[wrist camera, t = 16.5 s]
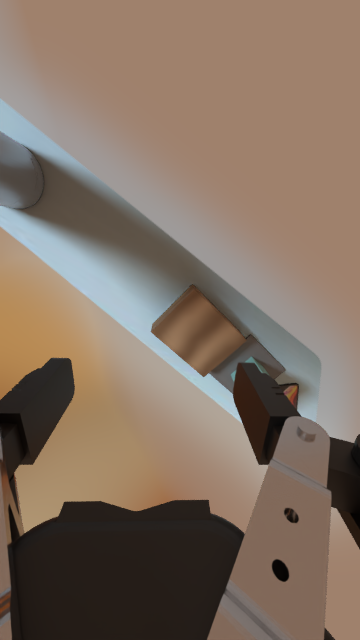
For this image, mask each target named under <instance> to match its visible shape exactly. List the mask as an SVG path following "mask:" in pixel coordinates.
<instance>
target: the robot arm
mask: <svg viewBox="0 0 360 640" xmlns="http://www.w3.org/2000/svg"><path fill="white" fill-rule="evenodd" d="M43 185H44V182H43V174H42V170H41V168H40V165H39V163H38V161H37V160H36V158H35V157H34V155H33V154H32V153H31V152H30V151H29V150H28V149H27V148H25V147H24V146H23V145H21V144H20V143H18V142H17V141H15V140H13V139H12V138H10V137H8V136H7V135H5V134H4V133H2V132H1V131H0V206H5V207H11V208H18V209H22V208H28V207H30V206H32V205H33V204H35V203H36V202H37V201H38V199H39V198H40V196H41V194H42V191H43ZM74 387H75V386H74V378H73V371H72V363H71V360H70V359H69V358H51V359H50V360H49V361H48V362H47V363H46V364H45V365H44V366H43V367H42V368H38V369H36V370H34V371H32V372H31V373H29V374H28V375H26V376H25V377H24V378H23V379H22V380H21V381H20V382H19V384H17V385H16V386H14V388H12V391H9V392H8V393H7V394H6V395H5V396H4V397H3V398H2V399H1V400H0V640H335V639H334V638H333V637H332V635H331V634H330V633H329V632H328V631H327V630H326V629H325V609H326V590H327V572H328V553H329V535H330V534H329V533H330V516H331V507H334V508H337V510H338V511H339V513H340V515H341V517H342V519H343V520H344V522H345V524H346V525H347V527H348V529H349V531H350V533H351V534H352V536H353V538H354V540H355V542H356V544H357V545H358V547H359V549H360V434H359V435H358V436H357V438H356V440H355V443H351V442H347V441H343V440H339V439H336V438H331V437H329V436H328V434H327V433H326V431H325V430H324V429H323V428H322V427H321V426H320V425H318V424H317V423H315V422H314V421H312V420H310V419H307V418H304V417H301V415H300V414H299V413H298V411H297V410H296V408H295V407H294V406H293V404H292V403H291V402H290V400H289V399H288V397H287V396H286V395H285V393H284V392H283V391H282V389H280V387H279V385H278V384H277V382H276V381H275V380H274V379H273V378H272V377H270V376H269V375H267V374H266V373H261V371H260V370H259V368H258V367H257V365H256V364H255V363H247V362H239V363H238V364H237V368H236V374H235V381H234V387H233V398H234V402H235V405H236V407H237V410H238V413H239V415H240V418H241V420H242V423H243V425H244V428H245V431H246V433H247V436H248V438H249V441H250V443H251V446H252V449H253V451H254V453H255V456H256V459H257V461H258V464H259V465H269V466H268V469H267V472H266V475H265V478H264V481H263V484H262V487H261V490H260V492H259V495H258V498H257V501H256V504H255V507H254V509H253V513H252V516H251V518H250V521H249V524H248V527H247V530H246V533H245V534H244V533H243V532H242V531H241V530H240V529H239V528H237V527H236V526H235V525H234V524H232V523H231V522H229V521H227V520H226V519H224V518H222V517H219V516H217V515H214V514H211V513H210V507H209V500H175V501H170V502H167V503H164V504H161V505H158V506H154V507H151V508H148V509H144V510H142V511H131V510H128V509H125V508H121V507H118V506H115V505H111V504H108V503H105V502H101V501H91V502H90V501H86V502H64V504H63V507H62V509H61V512H60V514H59V516H58V517H55V518H52V519H50V520H48V521H45V522H43V523H41V524H39V525H37V526H35V527H34V528H32V529H31V530H29V531H28V532H26V533H24V529H23V523H22V517H21V510H20V503H19V497H18V491H17V483H16V477H15V474H14V472H15V470H16V469H17V468H18V466H19V465H22V464H23V465H29V464H30V465H33V463H34V462H35V460H36V458H37V457H38V455H39V453H40V452H41V450H42V449H43V447H44V445H45V444H46V442H47V440H48V439H49V437H50V435H51V433H52V432H53V430H54V429H55V427H56V425H57V423H58V422H59V420H60V419H61V417H62V415H63V413H64V412H65V410H66V409H67V407H68V405H69V403H70V402H71V400H72V398H73V395H74V389H75V388H74Z"/></svg>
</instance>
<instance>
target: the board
mask: <svg viewBox="0 0 360 640" xmlns="http://www.w3.org/2000/svg"><path fill="white" fill-rule="evenodd" d="M151 332H152V333H153V334H154V335H155V336H156V337H157V338H159V339H160V340H161V341H162V342H163V343H164V344H166V345H167V346H168V347H169V348H170V349H171V350H173V351H174V352H175V353H176V354H177V355H178V356H180V357H181V358H182V359H183V360H184V361H185V362H187V363H188V364H189V365H190V366H191V367H192V368H194V369H195V370H196V371H197V372H198V373H199V374H201V375H202V376H203V377H205V376H206V375H207V374H208V373H209V372H210V371H212V370H213V369H214V368H215V367H216V366H218V365H219V364H220V363H221V362H222V361H223V360H225V359H226V358H227V357H228V356H229V355H230V354H232V353H233V352H234V351H235V350H236V349H237V348H239V347H240V346H241V345H242V344H243V343H245V342H246V341H247V340H246V339H245V338H244V336H243V335H242V334H241V332H240V331H239V330H238V329H237V328H236V327H235V326H234V325H233V324H232V323H231V322H230V321H229V320H228V319H227V318H226V317H225V316H224V315H223V314H222V313H221V312H220V311H219V310H218V309H217V308H216V307H215V306H214V305H213V304H212V303H211V302H210V301H209V300H208V299H207V298H206V297H205V296H204V295H203V294H202V293H201V292H200V291H199V290H198V289H197V288H196V287H195V286H194V285H193V284H192V285H191V286H190V287H189V288H188V289H187V290H186V291H185V292H184V293H183V294H182V295H181V296H180V297H179V298H178V299H177V300H176V301H175V302H174V303H173V304H172V305H171V306H170V307H169V308H168V309H167V310H166V311H165V312H164V313H163V314H162V315H161V316H160V317H159V318H158V319H157V320H156V321H155V322H154V323H153V324H152V329H151Z"/></svg>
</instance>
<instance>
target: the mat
mask: <svg viewBox="0 0 360 640" xmlns="http://www.w3.org/2000/svg"><path fill="white" fill-rule="evenodd" d="M246 340H247V341H246V342H245V343H243V344H242V345H241V346H240V347H239V348H237V349H236V350H235V351H234V352H233V353H232V354H230V355H229V356H228V357H227V358H226V359H225V360H223V361H222V362H221V363H220V364H219V365H218V366H216V367H215V368H214V369H213V370H212V371H210V372H209V373H210V374H211V375H212V376H213V377H214V378H215V379H216V380H218V381H219V382H220V383H221V384H222V385H223V386H224V387H226V388H227V389H228V390H229V391H230V392H231V393H232V394H233V387H234V381H233V379H232V377H231V374H232V373H233V372H234V371H235V370H236V368H237V364H238V363H239V362H246V361H247V360H248V359H249V358H250V357H251V356H252V357H253V358H254V359H255V360H256V361H257V362H258V363H259V364H261V365H262V366H263V367H264V369H265V370H266V371H267V373H268V374H269V376H270V377H272V378H273V379H275V378H276V377H277V376H279V375H280V374H281V373H283V372H284V371H285V369H284V368H283V367H282V366H281V365H280V364H279V363H278V362H277V361H276V360H275V359H274V358H273V357H272V356H271V355H270V354H269V353H268V352H267V350H266V349H265V348H264V347H263V346H262V345H261V344H260V343H259V342H258V341H257V340H256V339H255V338H254V337H253V336H252V335H251V334H250V335H249V336H248V337H247V338H246Z"/></svg>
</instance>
